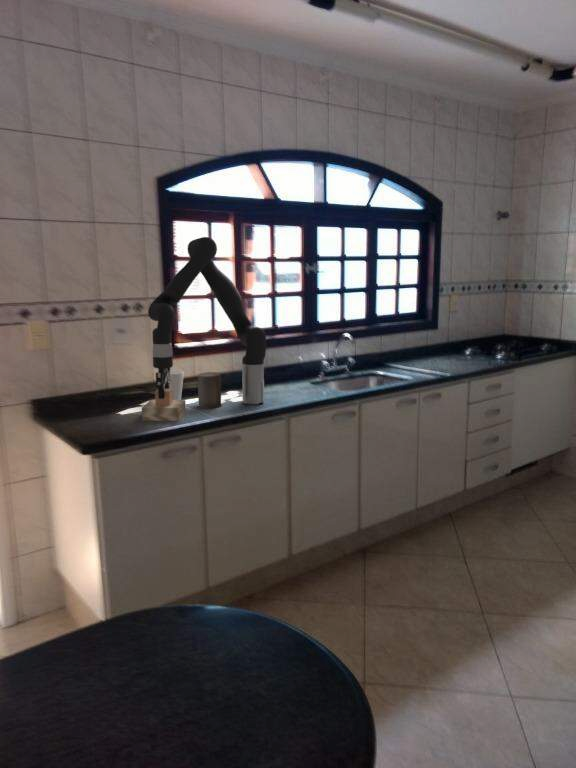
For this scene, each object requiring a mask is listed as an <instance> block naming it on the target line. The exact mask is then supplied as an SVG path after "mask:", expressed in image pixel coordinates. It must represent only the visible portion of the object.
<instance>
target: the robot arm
mask: <svg viewBox="0 0 576 768" xmlns="http://www.w3.org/2000/svg"><path fill="white" fill-rule="evenodd" d="M217 252H218V246H217V243H216V242H215V240H214V239H213V238H211V237H208V236H203V237H199V238H196V239H195V238H194V239H193V240H190V242H188V244H187V253H188V256H189V258H190V259H189V260H188V261H187V263H186V264H185V265H184V266H183V267H182V268H181V269H180V270H178V272H177V273H175V275H174V276H173V277H172V278H171V280H170V281H169V283H168V284H167V286H165V288H164V290H163V291H162V292H161V293H160V294H159V295H158V296H157V297H156V298H155V299H154V300H153V301H152V302H151V303H150V305H149V307H148V311H147V313H148V314H147V315H148V317H149V318H150V320H151V321H155V322H157V327H156V328H154V329H152V333H151V334H152V335H151V336H152V349H151V350H152V366H153V368H155V369H158V370H157V372H155V388H156V389H158V397H159V399H164V398H165V393H164V389H169V384H170V382H171V377H170V371H171V368H173V366H174V361H173V360H174V358H173V345H172V330H173V326H174V321H175V312H174V308H173V305H176V304H178V303H180V301H181V300H182V298H183V297H184V295H185V294H186V292H187V291H188V290H189V287H190V286H191V285H192V283H193V282H194V281H195V279H196V278H197V277H198V276H199V275H200V273H201V274H202V276H203V278H204V280H205V282H206V283H207V285H208V287H209V288H210V290H211V291H212V293H213V295H214V297H215V298H216V300H217V302H218V303H219V305H220V306H221V308H222V310H223V311H224V313H225V315H226V316H227V317H228V319H229V321H230V322H231V324H232V326H233V328H234V330H235V332H236V334H237V337H238V339H239V340H240V342H241V344H242V345H244V346H245V355H244V356H243V357H242V361H241V362H242V363H241V365H242V370H241V372H242V375H241V376H242V379H241V380H242V384H241V385H242V397H241V398H242V403H243V404H246V405H260V404H259V403H263V402H264V401H265V379H264V378H265V377H264V374H265V367H264V365H265V363H264V362H265V358H266V352H267V350H266V349H267V336H266V332H265V331H264V329H263V328H262V327H259V326H255V325H254V324H253V323H252V322H251V321H250V319H249V317H248V316H247V314H246V311H245V308H244V303H243V299H242V296H241V293H240V292H239V290H238V288H237V287H236V285H235V284H234V282H233V281H232V280H231V279H230V278H229V277H228V276H227V275H226V274H225V273H223V272H222V271H221V270H220V268H218V267H217V265H216V264H215V262H214V260H213V259H214V258H215V257H216V254H217ZM264 403H265V402H264ZM264 403H263V404H264Z"/></svg>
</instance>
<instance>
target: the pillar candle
mask: <svg viewBox="0 0 576 768" xmlns="http://www.w3.org/2000/svg"><path fill="white" fill-rule="evenodd" d="M221 381H222V379H221V373H220V372H216V371H212V372H211V371H210V370H208V372H201V373H198V374H197V388H198V389H197V391H198V393H197V394H198V395H197V396H198V397H197V398H198V406H199V407H200V408H202V409H203V408H204V409H214V408H219V407H221V406H222V389H221V388H222V382H221Z"/></svg>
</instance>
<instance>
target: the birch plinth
mask: <svg viewBox="0 0 576 768" xmlns="http://www.w3.org/2000/svg"><path fill="white" fill-rule="evenodd" d="M186 405H187V404H186V399H181V400H173V403H172V404H171V405H156V402H155V399H150V400H148V402H146V403H145V404H144V405H143V406H142V407H141V421H143V422H144V421H145V422H146V421H147V422H149V421H152V422H153V421H154V422H157V421H158V422H159V421H160V422H179V421H180V420H181V419H182V418H183V416H184V415H185V414H186V412H187V409H186V407H187V406H186Z"/></svg>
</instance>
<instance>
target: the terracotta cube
mask: <svg viewBox="0 0 576 768" xmlns="http://www.w3.org/2000/svg"><path fill="white" fill-rule="evenodd" d="M164 393H165V398H164V399H159V397H158V388H156V390H155V391H154V400H155V402H156V405H171V404H172V403H173V396H172V389H164Z"/></svg>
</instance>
